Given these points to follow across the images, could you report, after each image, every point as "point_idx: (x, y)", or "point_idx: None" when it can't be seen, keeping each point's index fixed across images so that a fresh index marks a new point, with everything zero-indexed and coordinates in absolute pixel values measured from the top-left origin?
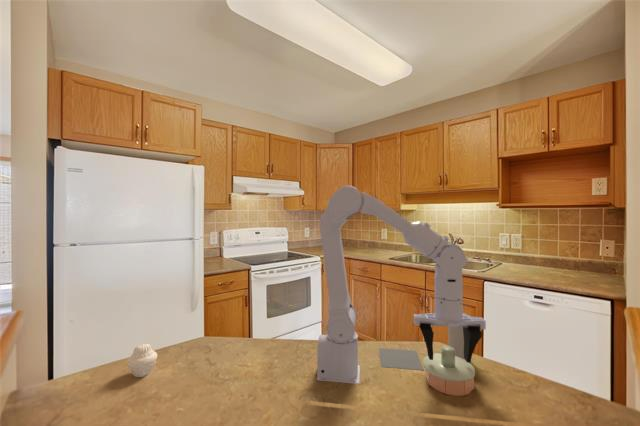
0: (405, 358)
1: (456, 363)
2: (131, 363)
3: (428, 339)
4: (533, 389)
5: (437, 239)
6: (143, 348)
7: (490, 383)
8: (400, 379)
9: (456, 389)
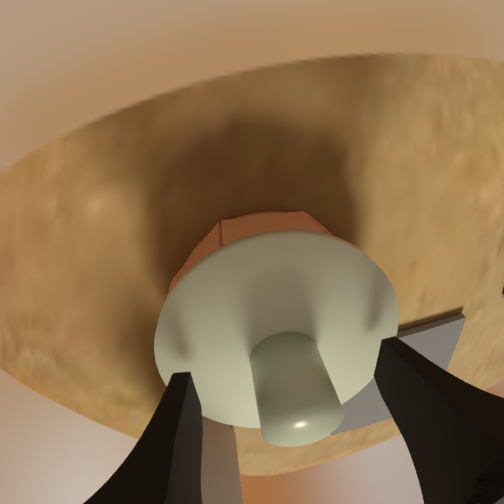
0: None
1: (238, 377)
2: None
3: (483, 404)
4: (7, 336)
5: None
6: None
7: (110, 345)
8: (428, 278)
9: (259, 224)
